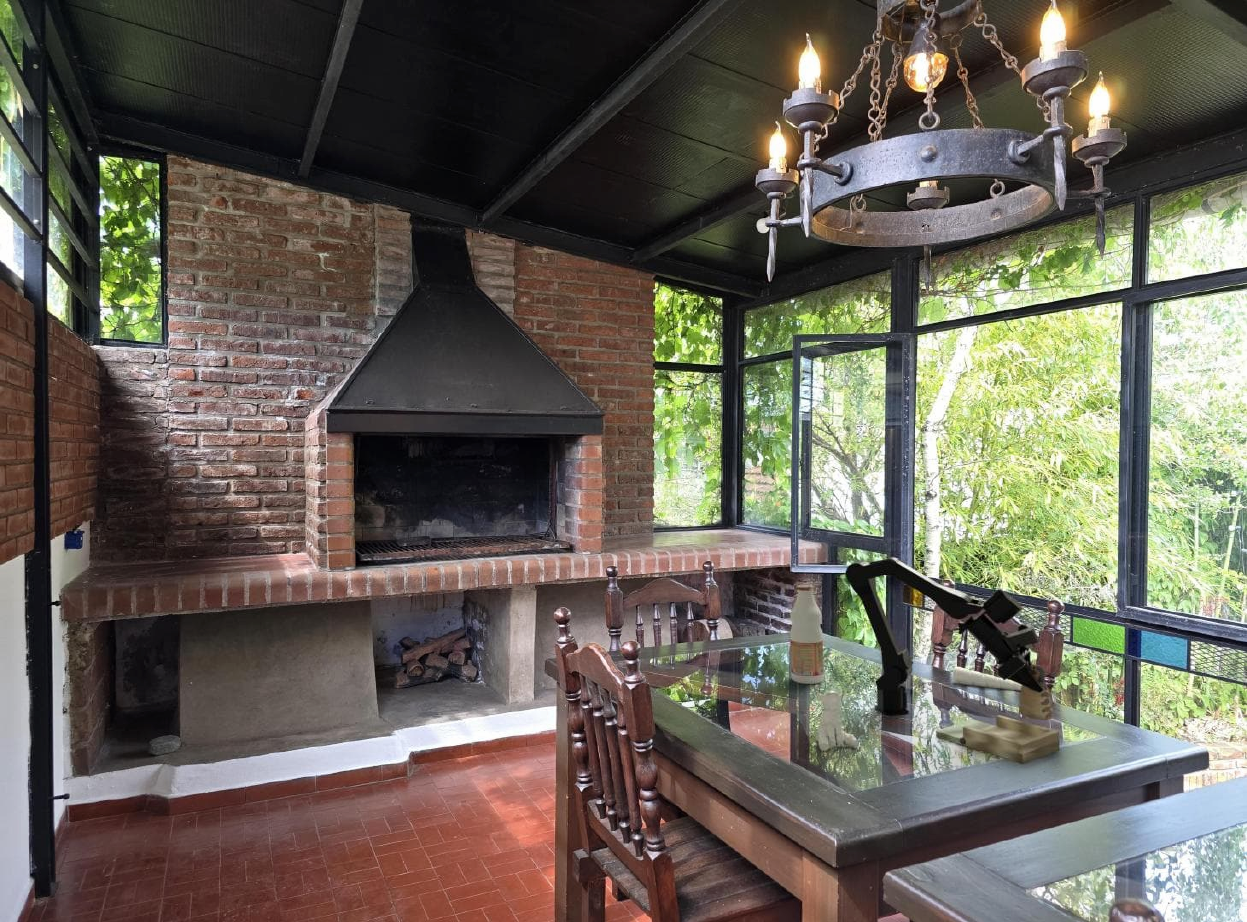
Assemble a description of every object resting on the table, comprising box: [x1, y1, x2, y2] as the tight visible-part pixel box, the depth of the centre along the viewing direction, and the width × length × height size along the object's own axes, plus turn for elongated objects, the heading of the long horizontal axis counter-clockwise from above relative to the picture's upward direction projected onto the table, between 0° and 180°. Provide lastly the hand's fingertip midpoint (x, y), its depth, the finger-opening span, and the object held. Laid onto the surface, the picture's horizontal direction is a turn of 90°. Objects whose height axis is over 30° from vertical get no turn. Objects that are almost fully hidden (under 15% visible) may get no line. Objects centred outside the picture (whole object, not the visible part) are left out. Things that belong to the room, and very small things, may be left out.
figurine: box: [1018, 663, 1054, 721], centre depth 184 cm, size 7×7×12 cm
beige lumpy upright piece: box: [816, 689, 860, 752], centre depth 179 cm, size 10×9×12 cm
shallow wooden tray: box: [935, 714, 1060, 765], centre depth 177 cm, size 21×14×4 cm
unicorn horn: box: [952, 666, 1022, 692], centre depth 219 cm, size 5×24×5 cm, turn 55°
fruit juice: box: [789, 584, 825, 685], centre depth 231 cm, size 9×9×28 cm
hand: (1042, 687), depth 184 cm, fingers closed on figurine, 6 cm apart
